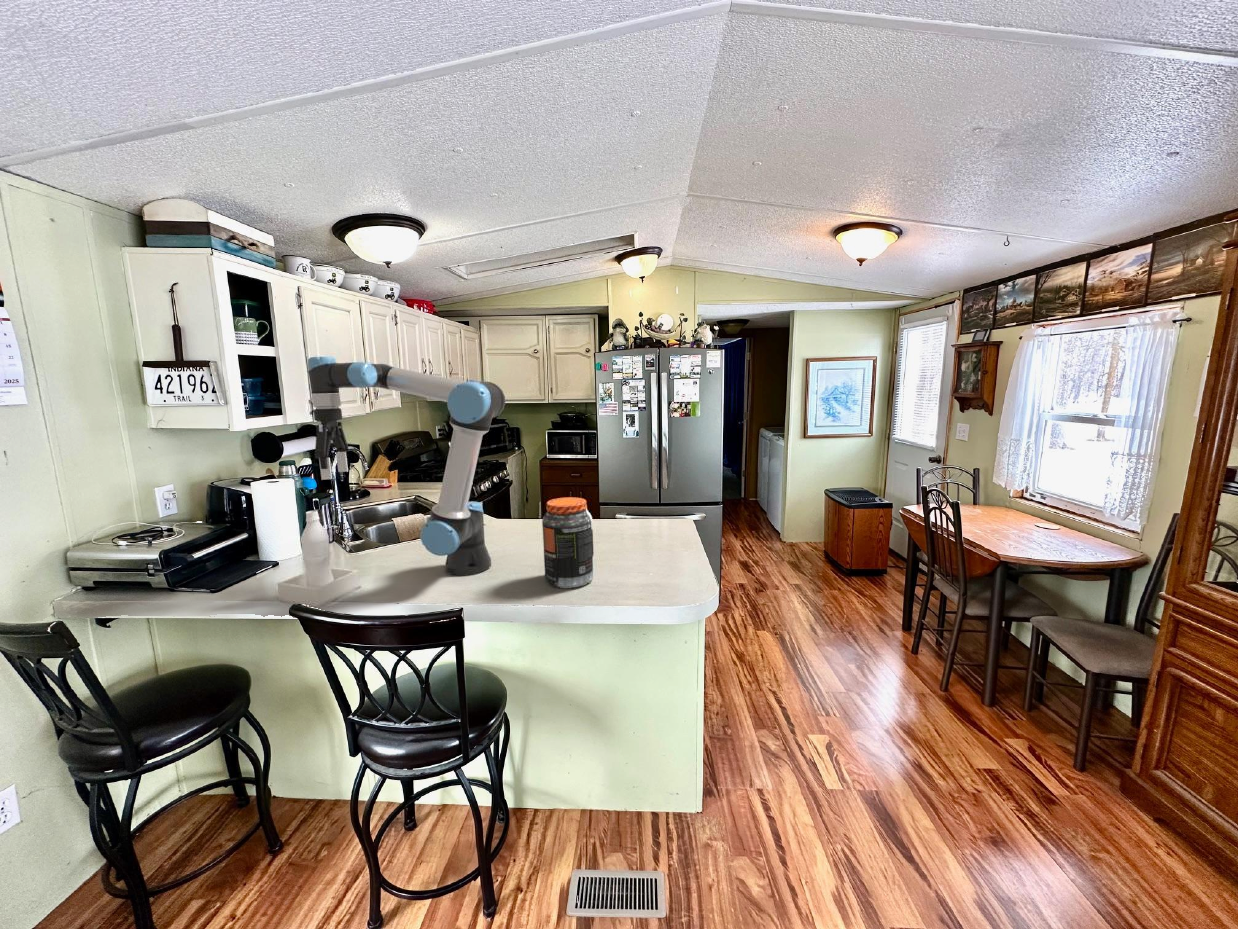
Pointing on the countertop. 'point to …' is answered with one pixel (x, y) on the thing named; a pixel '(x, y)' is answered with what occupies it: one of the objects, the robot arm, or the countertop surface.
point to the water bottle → (316, 552)
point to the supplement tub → (568, 543)
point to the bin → (319, 588)
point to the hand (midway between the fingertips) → (335, 475)
